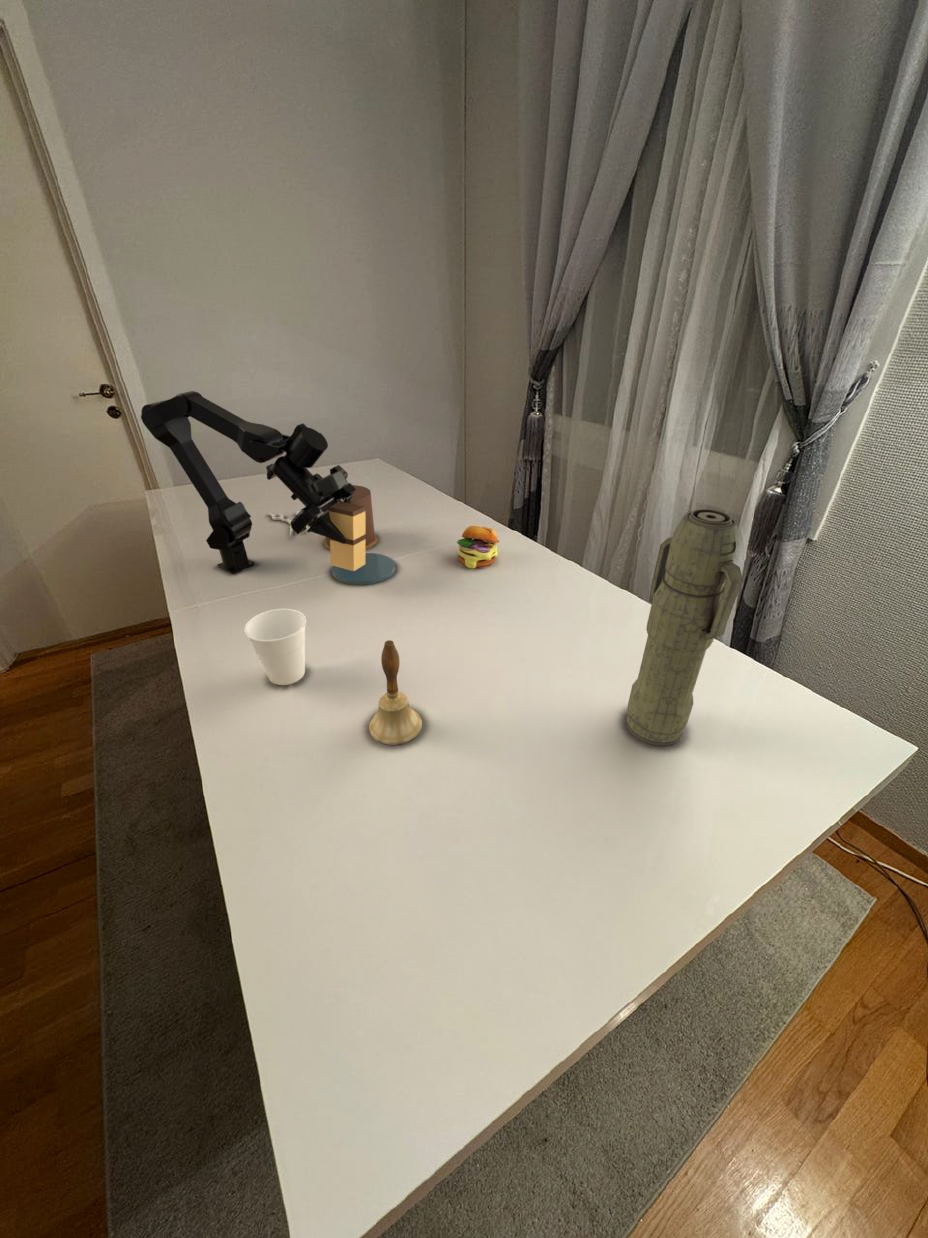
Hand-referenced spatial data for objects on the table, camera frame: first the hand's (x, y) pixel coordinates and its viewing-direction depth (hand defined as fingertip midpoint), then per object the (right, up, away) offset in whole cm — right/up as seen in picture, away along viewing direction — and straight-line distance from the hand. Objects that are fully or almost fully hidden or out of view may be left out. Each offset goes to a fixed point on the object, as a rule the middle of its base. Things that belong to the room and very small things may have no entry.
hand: (352, 536), depth 112 cm
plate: (0, -6, +14) cm, 15 cm away
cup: (-7, -28, -20) cm, 35 cm away
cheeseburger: (+27, -3, +19) cm, 34 cm away
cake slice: (-2, -6, +4) cm, 7 cm away
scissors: (-26, +9, +37) cm, 46 cm away
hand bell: (+13, -35, -31) cm, 48 cm away
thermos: (+54, -35, -30) cm, 71 cm away
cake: (-7, +3, +28) cm, 29 cm away
